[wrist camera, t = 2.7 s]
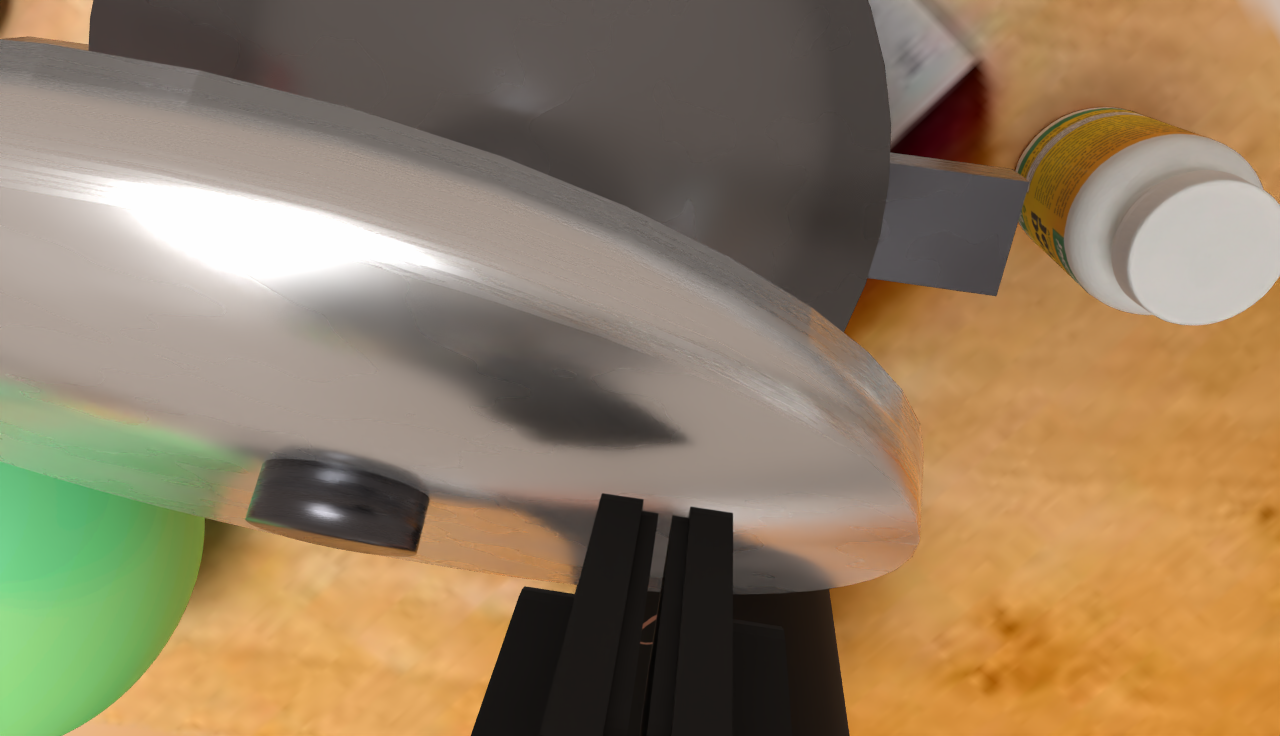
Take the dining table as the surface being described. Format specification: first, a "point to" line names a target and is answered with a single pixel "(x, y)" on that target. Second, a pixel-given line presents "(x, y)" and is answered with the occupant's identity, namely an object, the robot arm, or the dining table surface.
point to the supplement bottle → (1151, 216)
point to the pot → (637, 117)
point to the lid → (409, 341)
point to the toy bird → (83, 597)
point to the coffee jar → (807, 651)
